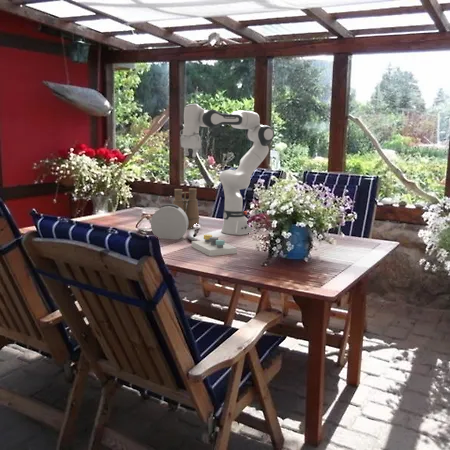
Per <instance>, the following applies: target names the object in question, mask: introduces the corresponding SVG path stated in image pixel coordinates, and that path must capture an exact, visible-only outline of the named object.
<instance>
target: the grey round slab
mask: <svg viewBox="0 0 450 450" xmlns="http://www.w3.org/2000/svg"><path fill="white" fill-rule="evenodd" d="M188 224H189V222H188V217H187V215H186V211H185V212H184V211H183V210H182V209H181V208H180V207H179V206H177V205H174V204H173V203H166V204H162V205H161V207H160V208H158V209H157V210H156V211H155V212H154V213H153V214H152V216H151V219H150V229H151V231H152V234H153V235H154V236H155V235H156V236H158V237H159V238H158V239H166V240H167V239H168V240H170V239H171V240H181V239H182V237H184V236H185V234H186V233H187V231H188V230H189V228H188ZM156 236H155V237H156Z"/></svg>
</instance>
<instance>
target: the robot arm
mask: <svg viewBox="0 0 450 450" xmlns="http://www.w3.org/2000/svg"><path fill="white" fill-rule="evenodd" d="M183 121H184V124H183V129H181V130H180V132H179V135H180V147H181V148H184V149H183V150H184V155H185V156H186V157H188V156H189V155H190V152H189V149H190V150H191V149H192V154H191V155H192V156H191V157H192V158H196V157H197V153H198V150H201V148H202V138H201V136H200V133H199V131H200V127H202V128H211V129H215V128H217V127H220V126H223V125H224V126H225V125H226V126H231V127H232V128H233V129H238V130H239V129H240V130H245V132H244V134H245V138H246V139H247V140H248V141H249V142H252V143H253V144H252V146H251V147H250V149H249V150H248V151H246V153H245V154H243V156H242V157H241V159H240V160H239V165H238V167H237V168H236V169H235V170H234V169H225V170H223V171H222V172H221V173H220V175H219V182H220V184H221V185H222V189H223V193H224V209H223V223H222V228H221V231H220V232H221V233H223V234H226V235H236V236H243V235H244V236H245V235H249V234H248V233H250V232H252V231H253V229H254V228H253V229H252V228H251V227H249V226H248V224H247V221H248V220H249V218H247V217H246V216H247V215H248V214H247V212H248V210H247V211H246V210H245V211H244V209H243V196H242V194H241V191H240V190H245V189H247V188H248V187H249V186H250V183H251V177H252V176H253V174H254V172H255V170H256V169H257V168H258V167H259V166H260V165H261V164H262V162H264V160H265V159H266V157H267V156H268V154H269V152H270V150H269V145H271V142H272V141H273V139H274V137H275V131H274V129H273V128H272V127H271V126H269V125H266V124H264V125H263V124H261V123H260V121H261V119H260V115H259V114H258V113H257V112H254V111H250V110H234V111H232V112H231V113H222V112H220V111H218V110H216V109H210V110H209V109H204V108H202V107H201V106H200V105H199V104H198V103H190V104H186V105H185V107H184V111H183ZM245 215H246V216H245Z"/></svg>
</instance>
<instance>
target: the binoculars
mask: <svg viewBox="0 0 450 450" xmlns="http://www.w3.org/2000/svg"><path fill="white" fill-rule="evenodd" d="M173 190H174V193H173V194H174V199H173V200H172V204H174V205H177V206H179V207H180V208H181V209H182V210H183V211H184V212H185V213H186V215H187V217H188V222H189V224H188V229H192V228H191V227H193V225H194V224H196V223H197V224H199V225H200V219H201V218H200V214H199V213H200V212H199V205H198V201H199V200H198V198H197V193H198V192H197V190H198V189H197V188H192V187H191V188H188V191H183V189H182V188H181V189H180V188H174V189H173ZM183 194H184V196H183ZM186 194H188V199H186V196H187V195H186ZM183 197H184V198H183Z"/></svg>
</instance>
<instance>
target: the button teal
mask: <svg viewBox="0 0 450 450" xmlns="http://www.w3.org/2000/svg"><path fill="white" fill-rule="evenodd" d="M225 243H226V241H225V240H224V239H218V240H216V245H217V248H223V245H224V244H225Z"/></svg>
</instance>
